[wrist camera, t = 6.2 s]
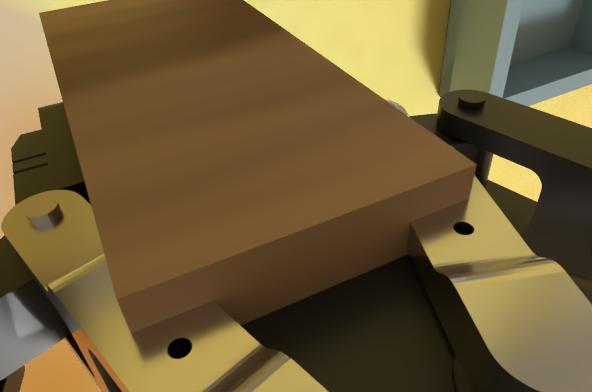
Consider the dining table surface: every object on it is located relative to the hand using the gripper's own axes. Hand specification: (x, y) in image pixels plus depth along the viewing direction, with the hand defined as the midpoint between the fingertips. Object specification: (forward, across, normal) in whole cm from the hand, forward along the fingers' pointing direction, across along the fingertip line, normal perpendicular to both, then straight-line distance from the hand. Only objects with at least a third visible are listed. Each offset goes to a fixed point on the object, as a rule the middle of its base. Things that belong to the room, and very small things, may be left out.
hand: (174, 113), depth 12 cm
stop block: (+2, 0, 0) cm, 2 cm away
